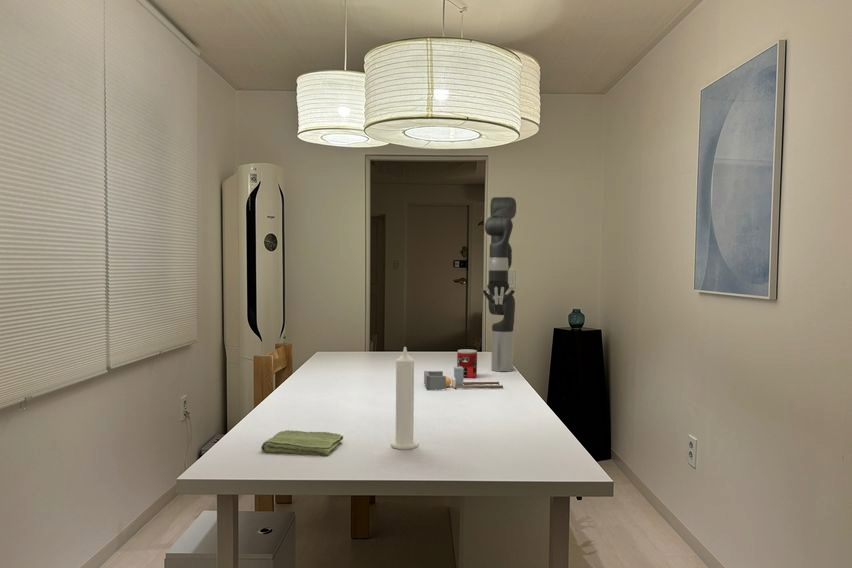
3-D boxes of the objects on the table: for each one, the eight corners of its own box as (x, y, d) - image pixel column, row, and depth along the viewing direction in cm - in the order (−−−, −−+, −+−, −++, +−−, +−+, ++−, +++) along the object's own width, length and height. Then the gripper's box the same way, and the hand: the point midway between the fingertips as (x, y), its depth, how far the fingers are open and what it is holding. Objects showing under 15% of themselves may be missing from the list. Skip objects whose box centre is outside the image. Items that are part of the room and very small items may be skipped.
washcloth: (330, 458, 142) (330, 445, 142) (258, 455, 144) (258, 441, 144) (344, 442, 155) (344, 430, 155) (279, 439, 157) (279, 427, 157)
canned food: (453, 376, 246) (454, 349, 246) (470, 375, 250) (471, 348, 249) (462, 379, 239) (463, 352, 239) (480, 378, 243) (480, 351, 242)
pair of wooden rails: (452, 384, 229) (452, 382, 229) (498, 384, 230) (498, 381, 230) (454, 389, 221) (454, 386, 221) (503, 388, 222) (503, 386, 222)
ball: (449, 374, 227) (451, 384, 227) (438, 376, 226) (440, 386, 227) (450, 376, 223) (452, 386, 223) (440, 378, 222) (442, 389, 223)
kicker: (451, 384, 227) (451, 366, 227) (461, 384, 228) (461, 366, 228) (453, 387, 222) (453, 368, 222) (463, 387, 223) (463, 368, 222)
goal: (424, 384, 230) (424, 371, 229) (442, 384, 230) (442, 371, 230) (426, 390, 219) (426, 376, 218) (445, 390, 219) (445, 376, 219)
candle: (403, 439, 156) (403, 344, 156) (424, 445, 152) (425, 346, 151) (384, 445, 151) (385, 346, 150) (405, 451, 146) (406, 349, 146)
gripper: (513, 269, 236) (512, 313, 237) (479, 269, 235) (479, 313, 236) (517, 269, 229) (517, 314, 229) (483, 269, 228) (482, 314, 228)
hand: (497, 314), depth 233 cm, fingers closed
